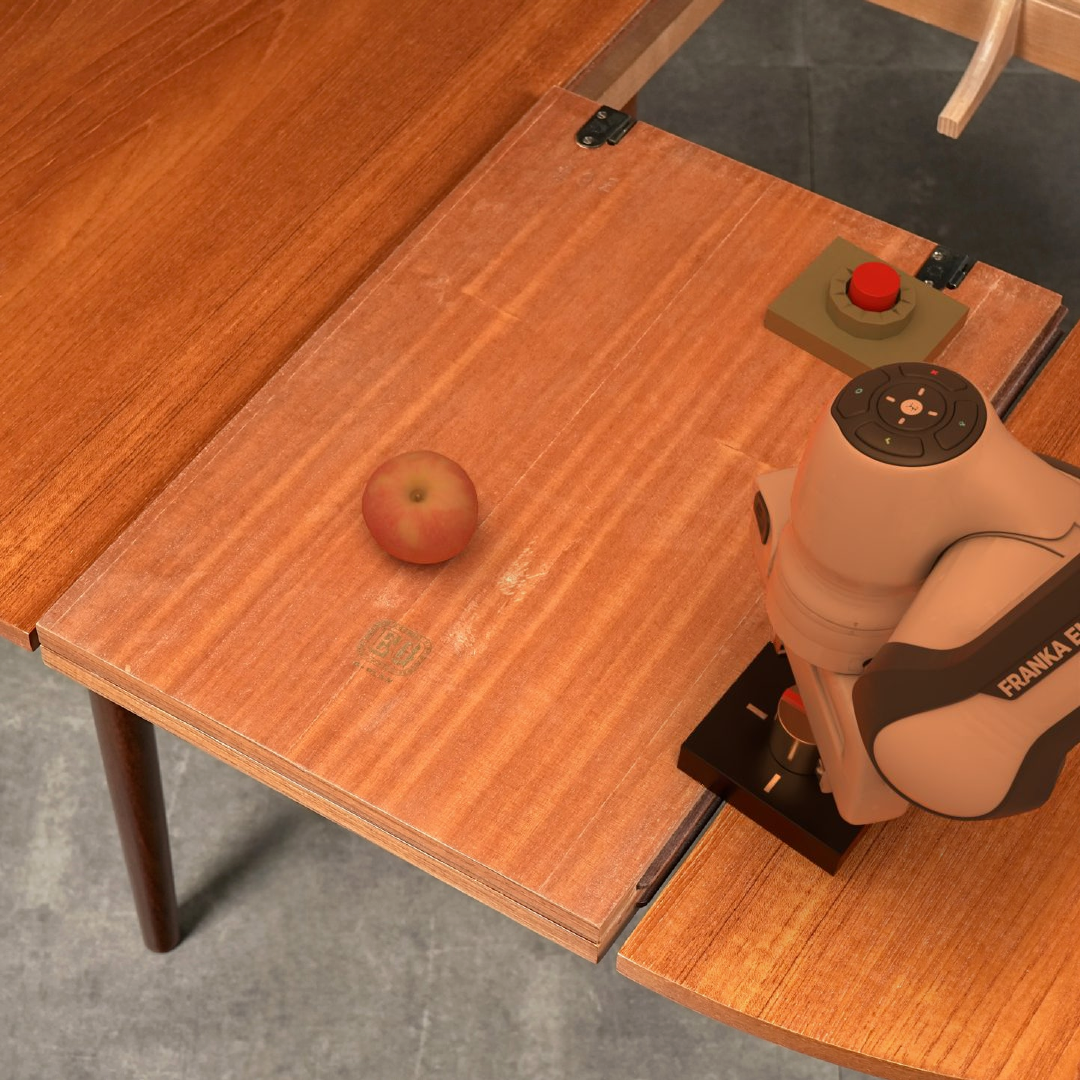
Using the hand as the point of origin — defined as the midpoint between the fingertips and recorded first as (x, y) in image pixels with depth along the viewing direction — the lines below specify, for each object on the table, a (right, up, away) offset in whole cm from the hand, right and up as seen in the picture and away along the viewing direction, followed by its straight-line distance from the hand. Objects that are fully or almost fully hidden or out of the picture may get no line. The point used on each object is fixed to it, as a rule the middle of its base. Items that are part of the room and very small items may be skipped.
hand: (808, 712), depth 104 cm
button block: (+9, +27, +27) cm, 39 cm away
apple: (-25, +10, +15) cm, 31 cm away
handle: (0, -2, +3) cm, 4 cm away
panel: (0, -4, +5) cm, 7 cm away
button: (+9, +29, +24) cm, 39 cm away
